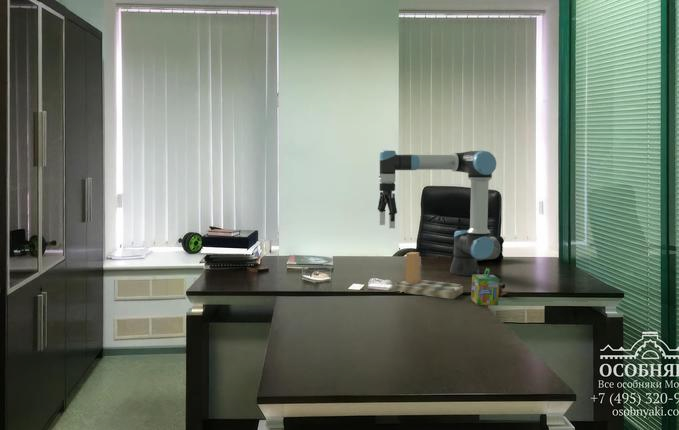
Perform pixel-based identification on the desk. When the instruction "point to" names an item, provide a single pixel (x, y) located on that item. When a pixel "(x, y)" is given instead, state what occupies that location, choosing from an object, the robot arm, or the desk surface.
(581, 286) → the desk surface
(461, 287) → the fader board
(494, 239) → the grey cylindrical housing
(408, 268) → the tall orange upright pillar
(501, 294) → the electronic device
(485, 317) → the desk surface
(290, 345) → the desk surface
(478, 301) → the chalk box
